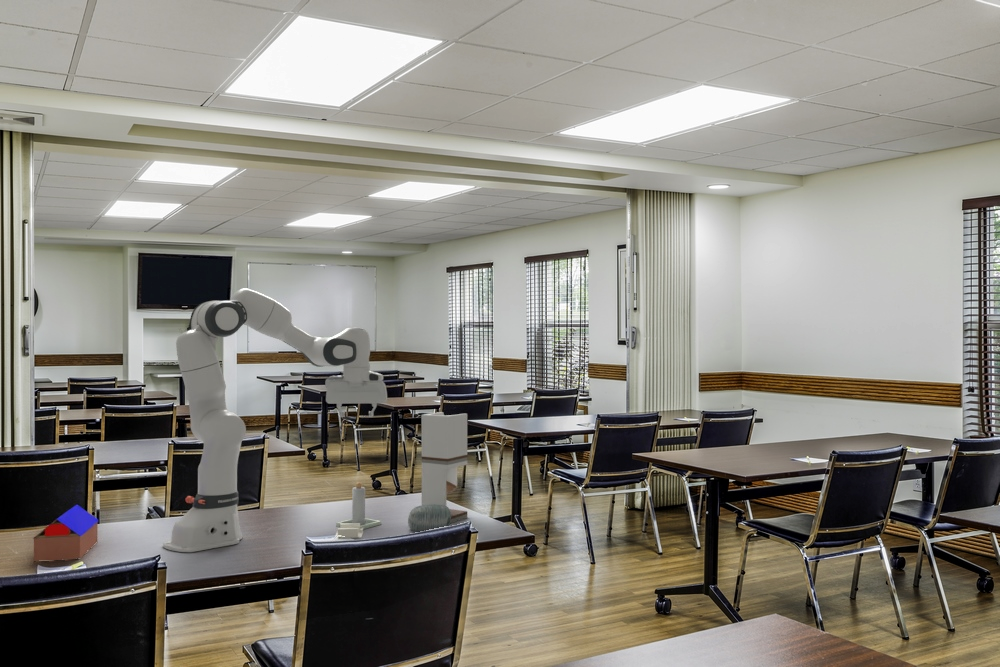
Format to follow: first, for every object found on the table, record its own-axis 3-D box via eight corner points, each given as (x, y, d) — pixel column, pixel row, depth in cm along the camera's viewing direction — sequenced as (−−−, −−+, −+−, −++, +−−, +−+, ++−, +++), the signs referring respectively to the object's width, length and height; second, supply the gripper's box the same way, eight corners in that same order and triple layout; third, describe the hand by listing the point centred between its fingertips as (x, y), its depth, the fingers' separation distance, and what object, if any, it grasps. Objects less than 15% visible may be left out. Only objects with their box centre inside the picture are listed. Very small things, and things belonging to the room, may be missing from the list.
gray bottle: (358, 527, 253) (358, 484, 254) (349, 526, 256) (349, 483, 256) (367, 525, 257) (367, 482, 257) (358, 523, 259) (358, 481, 259)
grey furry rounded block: (447, 514, 260) (444, 491, 255) (456, 533, 252) (452, 509, 247) (407, 527, 256) (402, 503, 251) (414, 547, 249) (410, 523, 244)
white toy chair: (334, 540, 240) (334, 529, 240) (338, 531, 251) (338, 520, 251) (361, 540, 240) (361, 528, 240) (364, 531, 252) (364, 520, 252)
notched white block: (447, 524, 261) (447, 416, 261) (421, 520, 267) (421, 414, 267) (467, 517, 271) (467, 413, 271) (441, 513, 276) (441, 412, 277)
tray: (358, 532, 249) (358, 526, 249) (336, 528, 255) (336, 522, 255) (381, 526, 257) (381, 521, 257) (358, 522, 263) (358, 517, 263)
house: (98, 542, 239) (99, 503, 239) (80, 560, 219) (80, 517, 219) (54, 545, 236) (54, 505, 236) (32, 563, 216) (32, 520, 216)
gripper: (324, 376, 265) (324, 418, 265) (386, 375, 267) (386, 417, 267) (326, 375, 271) (326, 416, 271) (387, 375, 273) (387, 415, 273)
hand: (356, 417), depth 269 cm, fingers open, 8 cm apart
